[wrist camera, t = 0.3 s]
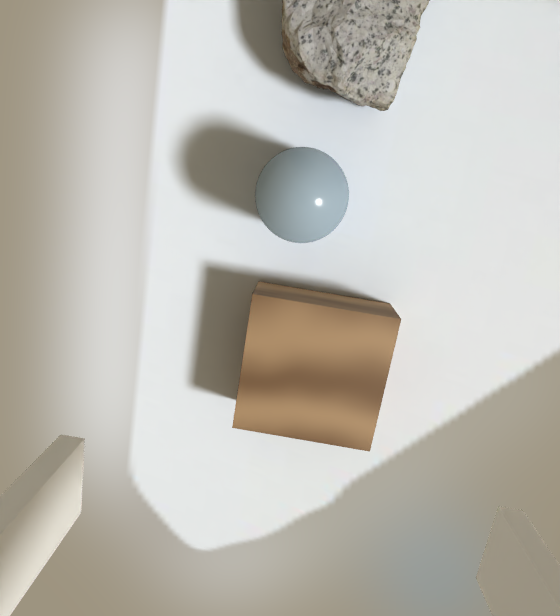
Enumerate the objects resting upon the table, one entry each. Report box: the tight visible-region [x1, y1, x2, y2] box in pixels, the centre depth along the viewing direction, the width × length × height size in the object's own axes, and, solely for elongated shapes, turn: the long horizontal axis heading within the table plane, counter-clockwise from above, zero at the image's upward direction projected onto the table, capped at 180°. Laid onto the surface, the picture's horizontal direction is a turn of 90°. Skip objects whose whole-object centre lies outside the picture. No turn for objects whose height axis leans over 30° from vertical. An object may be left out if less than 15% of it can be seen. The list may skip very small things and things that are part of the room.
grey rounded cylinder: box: [255, 147, 349, 243], centre depth 34 cm, size 6×6×7 cm
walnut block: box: [232, 281, 401, 451], centre depth 38 cm, size 11×11×5 cm
